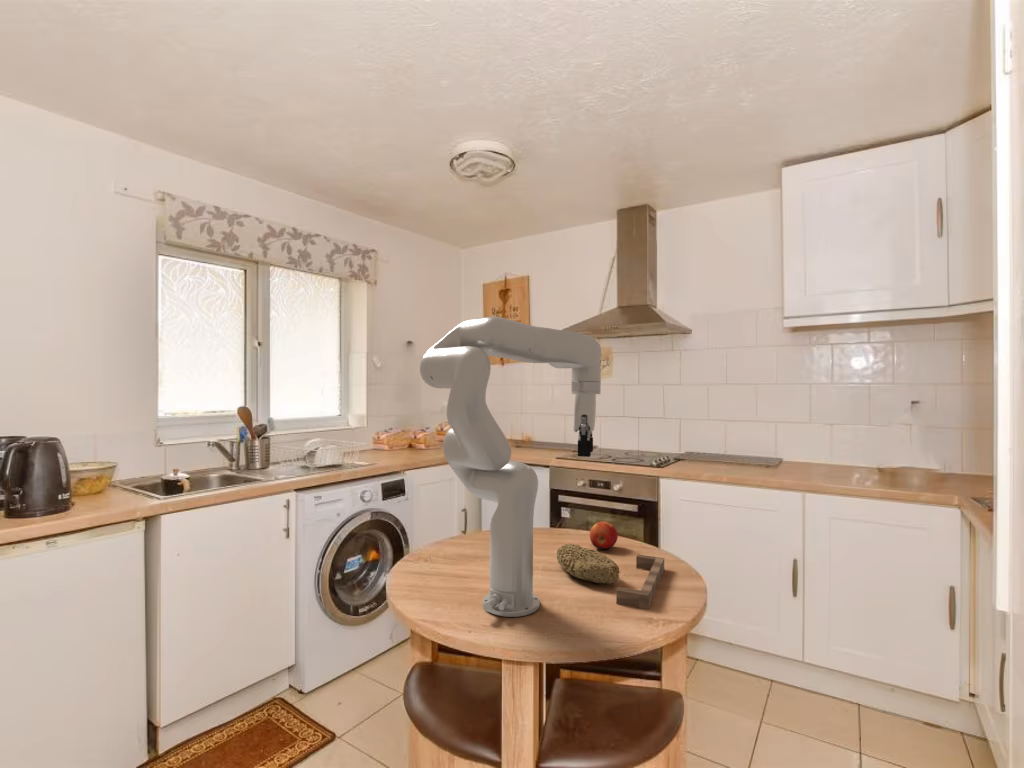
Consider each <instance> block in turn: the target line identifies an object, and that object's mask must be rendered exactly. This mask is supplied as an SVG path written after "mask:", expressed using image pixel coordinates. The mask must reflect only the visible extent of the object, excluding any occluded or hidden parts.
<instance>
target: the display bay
mask: <svg viewBox="0 0 1024 768" xmlns="http://www.w3.org/2000/svg"><path fill="white" fill-rule="evenodd" d="M635 559H636V560H635V563H636V565H635V567H637V568H636V569H640V568H644V569H643V570H647V569H650V570H649V572H648V574H647V577H646V578H645V580H644V583H643V585H642V587H641V589H640V590H639V589H633V588H627V587H621V586H618V587H617V588H616V591H615V592H616V593H615V594H616V598H615V599H616V605H623V606H627V607H635V608H639V609H645V610H649V609H650V606H651V604H652V602H653V599H654V597H655V594H656V592H657V589H658V587H657V586H659V584H660V582H661V579H660V578H662V576H663V574H662V573H664V572H665V557H660V556H659V557H658V556H653V555H652V556H650V555H645V554H637V555H636V556H635ZM659 581H660V582H659ZM658 583H659V584H658ZM655 591H656V592H655Z"/></svg>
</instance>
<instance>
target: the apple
mask: <svg viewBox="0 0 1024 768" xmlns="http://www.w3.org/2000/svg"><path fill="white" fill-rule="evenodd" d="M618 538H619V536H618V532H617V528H616V527H615V526H614V525H613V524H612V523H610V522H608V521H606V520H604V521H603V520H602V521H598V522H596V523H595V524H594V525H592V526H591V528H590V532H589V540H590V542H591V544H592V545H593V547H594V548H596V549H598V550H602V551H603V550H606V549H611V548H612V547H613V546H614V545H616V543H617V542H618Z"/></svg>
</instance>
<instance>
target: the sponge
mask: <svg viewBox="0 0 1024 768" xmlns="http://www.w3.org/2000/svg"><path fill="white" fill-rule="evenodd" d="M556 560H557V562H558V563H559V565H560V566H561V568H562V569H563V570H564V571H565V572H566V573H568V574H569V575H571V576H573V577H575V578H577V579H580V580H583V581H585V582H591V583H595V584H606V585H607V584H612V583H615V582H617V581H618V580H619V579H620V575H619V574H620V567H619V565H617V563H616V562H615V561H614V560H613V559H611V558H610V557H608V556H607V555H605V554H604V553H601V552H599V551H597V550H593V549H590V548H585V547H582V546H581V545H579V544H574V543H564V544H563V545H561V546H560V547H558V548H557V551H556Z"/></svg>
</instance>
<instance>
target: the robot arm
mask: <svg viewBox="0 0 1024 768" xmlns="http://www.w3.org/2000/svg"><path fill="white" fill-rule="evenodd" d="M601 347H602V346H601V344H600V343H599V341H597V339H596V338H595V337H593V336H591V335H588V334H584V333H581V332H577V331H572V330H566V329H565V330H564V329H556V328H549V327H542V326H535V325H531V324H527V323H524V322H519V321H516V320H512V319H509V318H505V317H503V316H502V317H500V316H486V317H479V318H472V319H467V320H464V321H462V322H461V323H459V324H457V325H456V326H455V327H454V328H453V329H451V330H450V331H449V332H448V333H447V334H446V335H445V336H443V337H442V338H441V339H440V340H438V341H437V342H436V343H435V344H434V345H432V346H431V347H430V348H429V349H428V350H427V351H426V353H425V354H424V355H423V356H422V359H421V360H420V365H419V372H420V373H419V374H420V376H421V379H422V380H423V381H424V383H426V384H427V385H428V386H429V387H432V388H435V389H450V390H449V395H448V400H447V405H446V418H447V419H446V420H447V422H448V425H449V426H450V429H449V430H448V431H447V432H446V433H445V436H444V439H443V443H442V448H443V449H442V450H443V454H444V457H445V458H444V459H445V460H446V461H447V464H448V465H449V466H450V467H451V469H452V470H453V472H454V473H455V475H456V476H457V478H458V479H459V480H460V481H461V483H462V485H464V487H465V488H466V490H467V491H468V492H469V493H470V494H471V495H473V496H474V497H475V498H477V499H478V498H479V499H482V500H485V501H488V502H489V501H490V502H494V503H497V506H496V509H495V511H494V513H493V514H492V518H491V520H490V525H489V526H490V527H489V592H488V593H487V594H486V595H485V596H483V598H482V607H483V610H484V611H486V613H490V614H493V615H495V616H499V617H507V618H508V617H509V618H512V617H514V618H515V617H517V618H518V617H524V616H525V617H526V616H528V615H531V614H533V613H535V612H536V611H537V610H538V609H539V608H540V605H541V604H540V603H541V601H540V597H539V596H538V595H536V593H534V591H533V589H534V514H535V506H536V499H537V495H538V489H539V479H538V475H537V473H536V471H535V470H534V469H533V468H532V466H530V465H528V464H526V463H523V462H519V461H516V460H515V461H514V460H511V459H512V458H511V457H512V448H511V444H510V442H509V440H508V439H507V436H506V435H505V434H504V432H503V430H502V429H501V427H500V425H499V423H497V421H496V419H495V418H494V417H493V414H492V413H491V411H490V409H489V407H488V405H487V399H486V393H487V389H488V388H487V387H488V383H489V379H490V376H491V361H490V358H489V357H495V358H496V357H497V358H501V359H508V360H514V361H519V362H523V363H528V364H549V366H551V367H553V368H556V369H571V395H574V408H573V409H574V413H573V431H574V433H577V432H578V437H577V438H578V440H577V456H578V457H583V458H585V457H586V458H590V457H591V455H592V454H591V453H593V452H594V437H593V432H594V431H595V426H596V414H597V411H596V410H597V409H596V405H597V400H596V399H597V395H601V389H602V387H601V376H602V374H601V373H602V372H601V369H602V368H601V367H602V365H601V363H602V362H601V361H602V360H601V359H602V348H601Z"/></svg>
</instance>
